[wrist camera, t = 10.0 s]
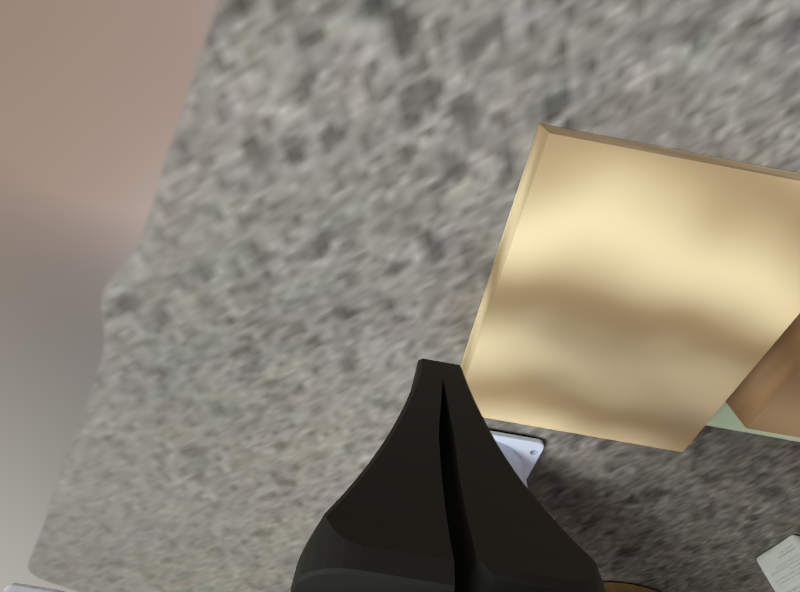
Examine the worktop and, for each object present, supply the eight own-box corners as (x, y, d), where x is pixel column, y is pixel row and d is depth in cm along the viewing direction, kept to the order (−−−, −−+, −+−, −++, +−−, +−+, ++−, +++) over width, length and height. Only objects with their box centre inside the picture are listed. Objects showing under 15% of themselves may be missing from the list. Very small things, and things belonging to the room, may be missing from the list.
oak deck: (667, 425, 27) (682, 452, 25) (453, 387, 27) (454, 412, 25) (853, 183, 18) (895, 199, 16) (538, 123, 18) (549, 133, 16)
